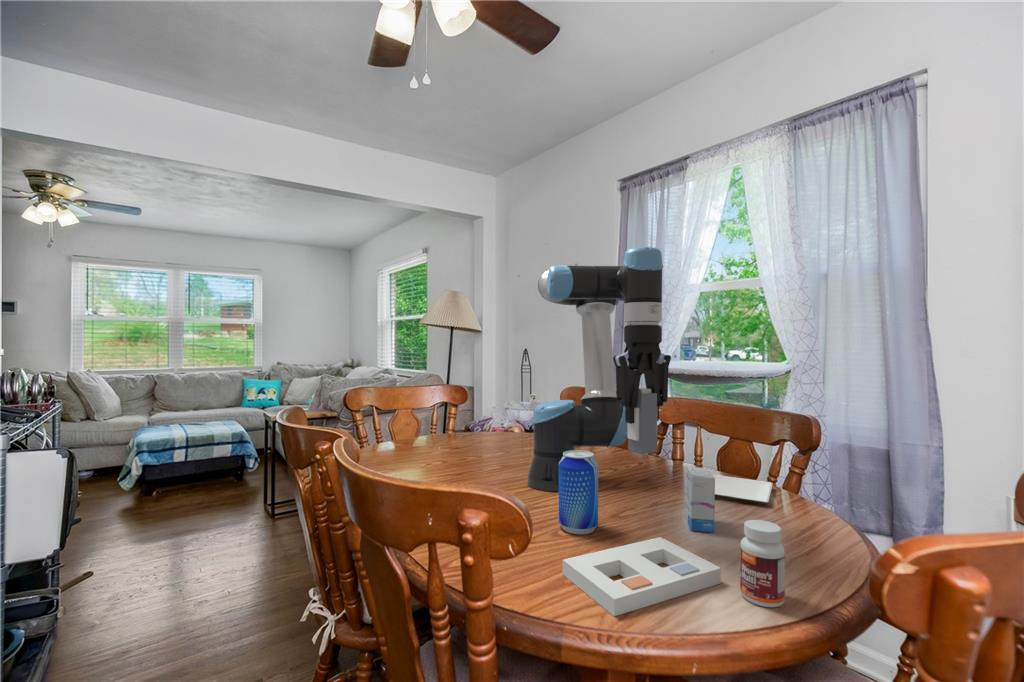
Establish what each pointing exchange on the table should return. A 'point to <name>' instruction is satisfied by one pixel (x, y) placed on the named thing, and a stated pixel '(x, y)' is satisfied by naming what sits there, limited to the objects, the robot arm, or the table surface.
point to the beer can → (578, 492)
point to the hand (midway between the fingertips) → (642, 437)
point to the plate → (742, 489)
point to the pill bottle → (762, 564)
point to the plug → (646, 423)
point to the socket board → (640, 574)
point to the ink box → (699, 499)
